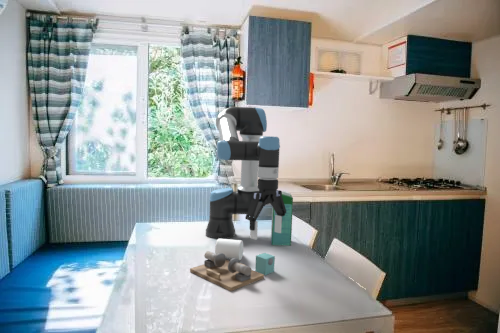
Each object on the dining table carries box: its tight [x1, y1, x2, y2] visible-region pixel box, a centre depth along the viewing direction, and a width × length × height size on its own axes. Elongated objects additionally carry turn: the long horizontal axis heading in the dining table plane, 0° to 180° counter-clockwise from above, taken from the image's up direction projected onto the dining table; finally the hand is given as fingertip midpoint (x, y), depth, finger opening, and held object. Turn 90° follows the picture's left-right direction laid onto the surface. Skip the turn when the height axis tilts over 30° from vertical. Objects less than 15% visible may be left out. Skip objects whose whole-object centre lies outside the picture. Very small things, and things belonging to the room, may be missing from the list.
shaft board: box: [189, 251, 265, 292], centre depth 125 cm, size 22×16×7 cm
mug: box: [214, 238, 244, 261], centre depth 144 cm, size 12×10×8 cm
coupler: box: [254, 252, 276, 276], centre depth 130 cm, size 6×5×6 cm
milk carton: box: [270, 190, 294, 247], centre depth 166 cm, size 9×9×25 cm
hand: (266, 235), depth 129 cm, fingers open, 13 cm apart
